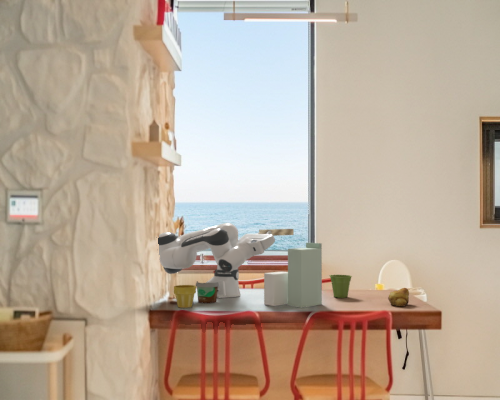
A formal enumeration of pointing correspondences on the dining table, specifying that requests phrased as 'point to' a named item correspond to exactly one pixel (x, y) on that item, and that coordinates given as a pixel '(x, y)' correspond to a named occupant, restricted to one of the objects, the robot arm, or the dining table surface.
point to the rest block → (276, 288)
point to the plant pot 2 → (340, 285)
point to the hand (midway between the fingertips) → (267, 231)
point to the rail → (278, 231)
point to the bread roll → (399, 297)
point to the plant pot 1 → (184, 295)
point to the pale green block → (305, 276)
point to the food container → (207, 292)
